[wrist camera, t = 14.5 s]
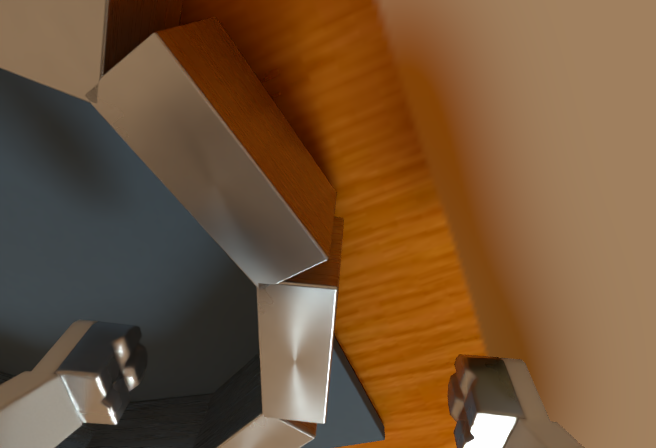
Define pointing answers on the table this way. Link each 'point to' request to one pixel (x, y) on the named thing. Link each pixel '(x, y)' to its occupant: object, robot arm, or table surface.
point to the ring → (205, 202)
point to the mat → (125, 262)
